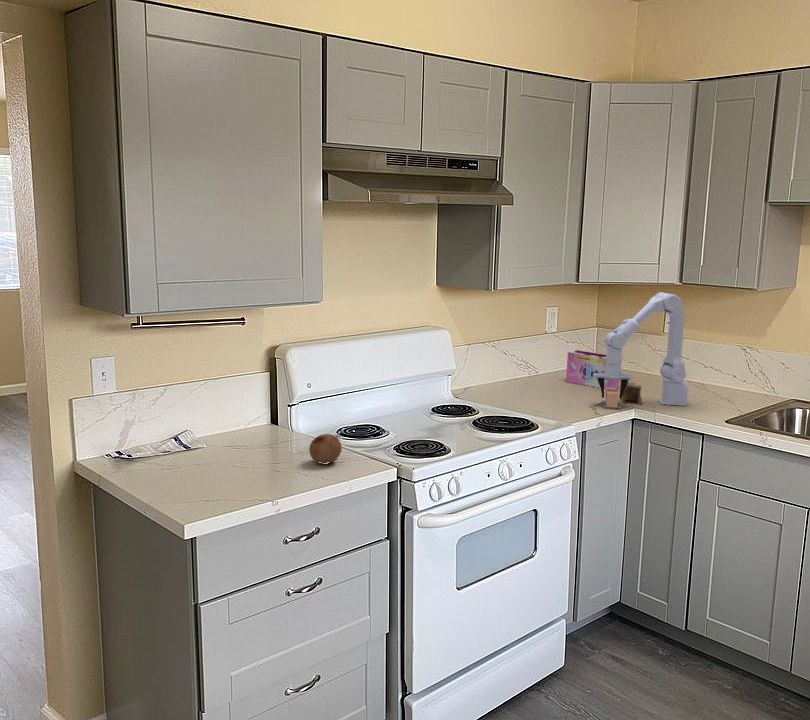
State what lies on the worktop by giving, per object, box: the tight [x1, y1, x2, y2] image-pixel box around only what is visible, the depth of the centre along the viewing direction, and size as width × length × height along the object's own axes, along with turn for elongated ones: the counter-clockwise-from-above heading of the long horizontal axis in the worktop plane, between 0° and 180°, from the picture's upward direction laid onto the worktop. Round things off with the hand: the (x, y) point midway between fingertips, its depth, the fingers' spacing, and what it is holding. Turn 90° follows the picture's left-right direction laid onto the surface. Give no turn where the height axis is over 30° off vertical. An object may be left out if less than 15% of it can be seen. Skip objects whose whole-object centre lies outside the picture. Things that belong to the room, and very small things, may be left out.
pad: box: [601, 399, 623, 410], centre depth 315 cm, size 7×11×1 cm, turn 169°
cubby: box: [620, 382, 642, 405], centre depth 321 cm, size 7×8×7 cm
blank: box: [604, 388, 619, 408], centre depth 314 cm, size 4×10×6 cm, turn 169°
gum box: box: [565, 349, 620, 390], centre depth 353 cm, size 24×8×14 cm, turn 42°
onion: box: [309, 433, 342, 463], centre depth 238 cm, size 10×9×10 cm
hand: (611, 397), depth 315 cm, fingers open, 6 cm apart
